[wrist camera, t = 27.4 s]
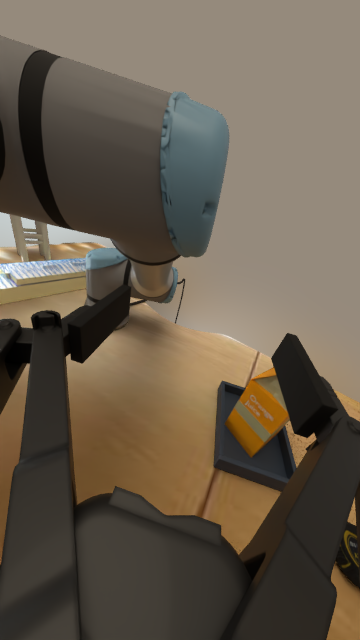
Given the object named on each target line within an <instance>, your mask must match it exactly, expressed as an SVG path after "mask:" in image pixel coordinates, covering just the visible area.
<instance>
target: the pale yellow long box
mask: <svg viewBox="0 0 360 640" xmlns="http://www.w3.org/2000/svg"><path fill="white" fill-rule="evenodd" d="M85 266H86V258H79V259H64V260H49V261H35V262H20V263H6V264H0V305H1V304H6V303H12V302H17V301H22V300H28V299H33V298H38V297H43V296H49V295H54V294H59V293H65V292H70V291H75V290H80V289H86V288H87V287H86V269H85Z"/></svg>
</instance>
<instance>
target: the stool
mask: <svg viewBox="0 0 360 640" xmlns="http://www.w3.org/2000/svg"><path fill="white" fill-rule="evenodd" d="M10 219H11V223H12V228H13V233H14V238H15V242H16V247H17V252H18V255H21V257H22V261H23V262H29V259H28V254H27V248H26V244H39V251H40V255H44V257H45V260H46V261H49V260H51V255H50V247H49V239H48V231H47V224H46V223H43V222H39V221H35V225H36V229H25V228H23V227H22V222H21V217H19V216H15V215H11V214H10ZM23 231H26V232H37V234H30V233H24V232H23ZM25 238H32V239H38V241H29V240H25Z"/></svg>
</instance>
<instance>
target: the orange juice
mask: <svg viewBox="0 0 360 640" xmlns="http://www.w3.org/2000/svg"><path fill="white" fill-rule="evenodd" d="M289 420H290V418H289V415H288V412H287V408H286V405H285V402H284V399H283V395H282V392H281V389H280V386H279V382H278V379H277V376H276V372H275V369H274V367H273V368H271V369H270V370H268V371H266V372H264V373H262V374H260V375H258V376H256V377H254V378H252V379H251V381H250V382H249V384H248V386H247V387H246V389H245V391H244V392H243V394H242V396H241V397H240V399H239V400H238V402H237V404H236V405H235V407H234V409H233V411H232V412H231V414H230V416H229V417H228V419H227V421H226V422H225V425H226V427H227V428H228V429H229V430H230V432H231V433H232V434H233V436H234V437H235V438H236V439H237V441H238V442H239V443H240V445H241V446H242V447H243V448H244V450H245V451H246V452H247V453H248V455H249V456H250V457H253V456H254V455H255V454H256V453H257V452H258V451H259V450H260V449H261V448H263V447H264V446H265V445H266V444H267V443H268V442H269V441H270V440H271V439H272V438H274V437H275V436H276V434H277V433H278V432H279V431H280V430H281V429H282V428H283V427H284V426H285V424H286V423H287V422H288V421H289Z"/></svg>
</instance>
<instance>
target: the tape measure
mask: <svg viewBox="0 0 360 640" xmlns="http://www.w3.org/2000/svg"><path fill="white" fill-rule="evenodd" d="M336 561H337V563H338V565H339V566H340V568H341V570H342V571H343V573H344V574H345V575H346V576H347V577H348V579H349V580H350V581H352V582H353V583H354V584H355V585H356V586H357V587H359V588H360V578H359V560H358V543H357V526H355V525H353V524H350V523H348V522H347V524H346V527H345V530H344V534H343V537H342V540H341V543H340V547H339V550H338V553H337V557H336Z"/></svg>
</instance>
